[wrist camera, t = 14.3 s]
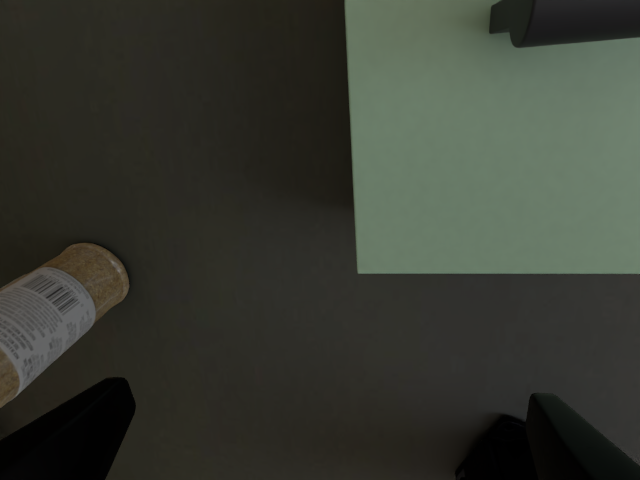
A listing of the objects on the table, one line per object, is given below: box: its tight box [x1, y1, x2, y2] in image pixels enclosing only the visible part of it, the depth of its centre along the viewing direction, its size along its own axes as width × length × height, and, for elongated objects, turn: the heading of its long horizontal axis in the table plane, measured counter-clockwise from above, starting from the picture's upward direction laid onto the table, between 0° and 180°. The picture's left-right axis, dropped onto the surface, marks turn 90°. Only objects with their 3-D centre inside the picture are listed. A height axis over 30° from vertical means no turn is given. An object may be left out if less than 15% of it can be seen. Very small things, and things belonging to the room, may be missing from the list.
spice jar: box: [0, 243, 129, 408], centre depth 19 cm, size 5×5×14 cm
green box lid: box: [344, 0, 640, 274], centre depth 10 cm, size 13×13×5 cm
